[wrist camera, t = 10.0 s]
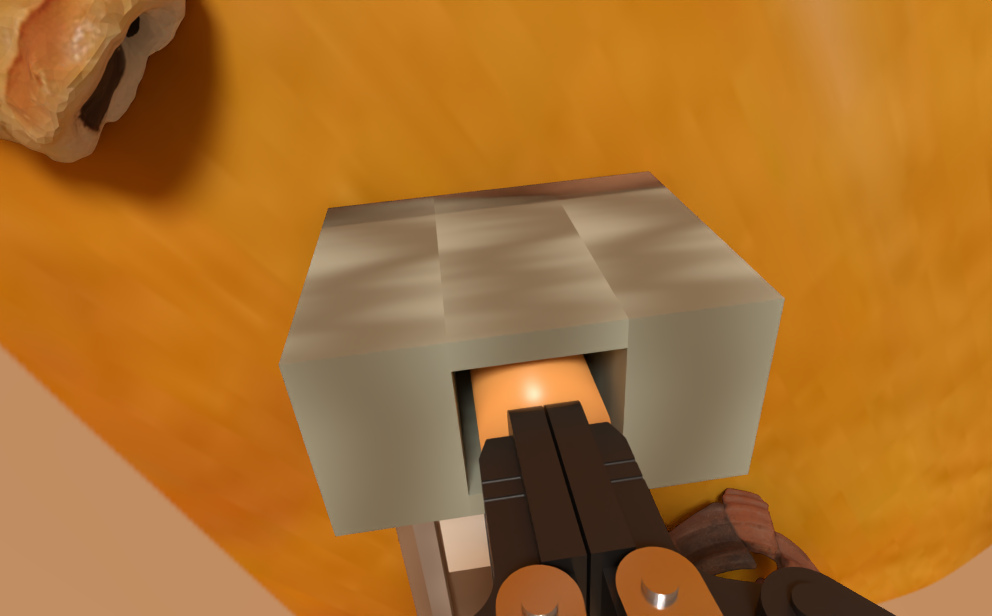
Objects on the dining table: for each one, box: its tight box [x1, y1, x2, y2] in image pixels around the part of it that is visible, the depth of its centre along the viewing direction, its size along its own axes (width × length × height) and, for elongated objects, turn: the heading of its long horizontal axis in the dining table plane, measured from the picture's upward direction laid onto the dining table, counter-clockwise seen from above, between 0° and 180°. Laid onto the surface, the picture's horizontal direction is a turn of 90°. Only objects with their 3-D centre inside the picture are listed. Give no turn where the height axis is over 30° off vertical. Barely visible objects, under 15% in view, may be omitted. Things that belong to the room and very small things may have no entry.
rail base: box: [279, 172, 785, 616], centre depth 22 cm, size 10×28×8 cm, turn 4°
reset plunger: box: [470, 354, 611, 452], centre depth 15 cm, size 3×3×6 cm
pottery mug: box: [669, 488, 819, 584], centre depth 27 cm, size 12×10×8 cm
